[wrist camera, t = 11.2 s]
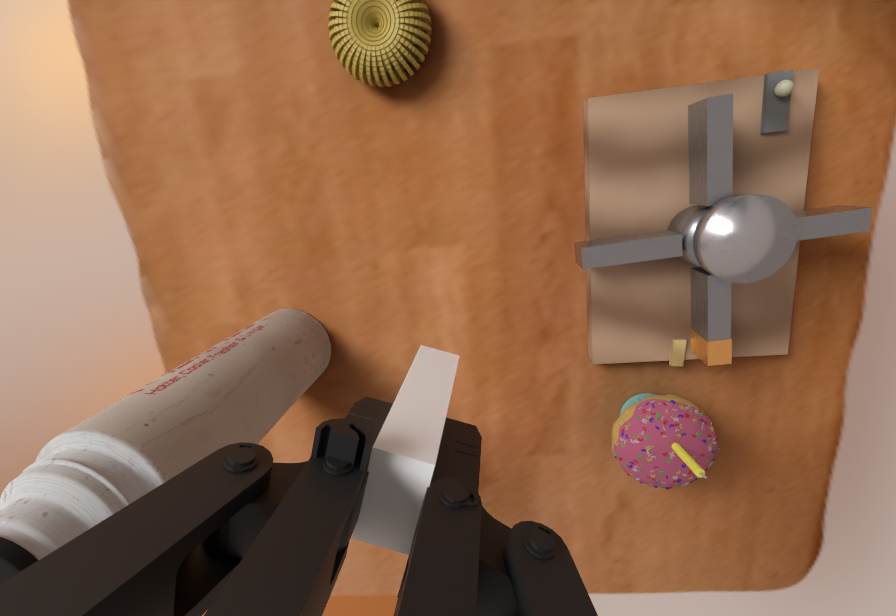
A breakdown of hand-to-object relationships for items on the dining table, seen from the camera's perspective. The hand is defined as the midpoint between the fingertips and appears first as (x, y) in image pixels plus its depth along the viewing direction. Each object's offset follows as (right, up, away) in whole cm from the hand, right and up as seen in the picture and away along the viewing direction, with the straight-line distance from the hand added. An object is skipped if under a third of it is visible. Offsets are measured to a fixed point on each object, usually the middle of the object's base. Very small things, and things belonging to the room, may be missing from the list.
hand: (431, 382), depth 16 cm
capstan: (+20, +9, +18) cm, 29 cm away
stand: (+21, +9, +20) cm, 31 cm away
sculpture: (-4, +25, +19) cm, 32 cm away
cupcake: (+20, -7, +26) cm, 33 cm away
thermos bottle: (-15, -1, +28) cm, 32 cm away
